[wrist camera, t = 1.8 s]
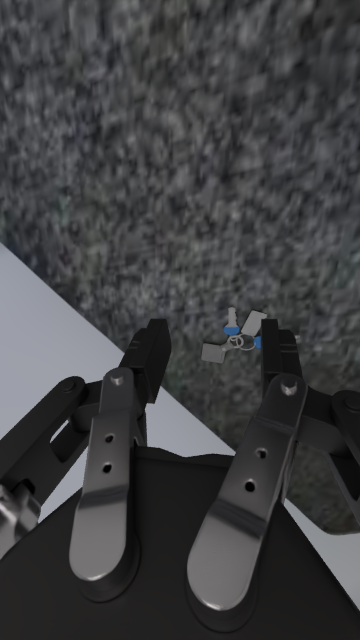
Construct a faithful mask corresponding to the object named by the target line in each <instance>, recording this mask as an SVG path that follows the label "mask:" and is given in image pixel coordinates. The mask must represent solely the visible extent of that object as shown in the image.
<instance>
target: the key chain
mask: <svg viewBox="0 0 360 640" xmlns="http://www.w3.org/2000/svg"><path fill="white" fill-rule="evenodd" d="M235 311H236V310H235V308H232V307H231V308H229V324H227V325H226V326H224V332H225V333H226V334H227V335H230V337H229V338H228V340H227V343H225V344H223V345H220V346H218V345H212V344H206V343H205V344H203V350H202V357H201V359H202V360H205V361H210V362H216V363H223V361H224V356H225V352H226V351H228V350H230V349H233V348H240V349H242V348H241V346H242V345H243V344H244V340H243V339H242V337H240V336H241V335H243V334H246V335H250V336H252V337H253V336H255V335H256V333H257V332H258V330H259V328H260V327H261V319H265V318H266V316H267V314H264V313H260V312H257V311H254V310H252V312H251V313H250V315H249V317H248V319H247V321H246V323H245V324H244V326H243V328H242V330H241V332H242V333H243V334H240V335H239V336H237V335H236V334H237V333H238V332H239V325H238V326H237V325H236V324H237V322H236V321H235V320H236V318H237V317H235V316H236V314H235ZM247 333H248V334H247ZM231 335H233V336H231ZM231 338H236V339H235V340H236V344H237V339H238V338H239V339H240V340H241V344H240V345H238V344H237V346H234V345H233V344H232V343H231V342H230V340H232V339H231ZM253 338H254V337H253ZM296 338H300V336H299V335H298V336H295V339H296ZM235 340H232V341H235ZM253 342H255V343H254V346H253V348H254V347H256V348H259V349H261V336H258V337H256V338H254V341H253ZM253 348H251V349H253ZM251 349H242V350H251Z"/></svg>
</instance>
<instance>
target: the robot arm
mask: <svg viewBox="0 0 360 640" xmlns="http://www.w3.org/2000/svg"><path fill="white" fill-rule="evenodd" d="M170 354H171V339H170V334H169V329H168V324H167V320H166V319H151V320H150V322H149V324H148V326H147V328H141V329H140V330H139V331H138V332H137V333H136V334H135V335H134V337H133V339H132V341H131V343H130V345H129V347H128V349H127V350H126V352H125V354H124V356H123V358H122V360H121V362H120V364H119V366H118V368H115V369H112V370H110V371H109V372H108V373H106V375H105V376H104V378H103V380H100V381H96V382H92V383H87V384H86V383H85V382H84V379H82V378H81V377H78V376H72V377H68V378H66V379H64V380H62V381H61V382H59V383H58V384H57V385H56V386H55V387H54V388H53V389H52V390H51V391H50V392H49V393H48V394H47V395H46V396H45V397H44V398H43V399H42V400H41V401H40V402H39V403H38V404H37V405H36V406H35V407H34V408H33V409H32V410H31V411H30V412H29V413H28V414H26V415H25V416H24V417H23V418H22V419H21V420H20V421H19V422H18V423H17V424H16V425H15V426H14V427H13V428H12V429H11V430H10V431H9V432H8V433H7V434H6V435H5V436H4V437H3V438H2V439H1V440H0V640H360V611H359V609H358V608H357V606H356V605H355V604H354V602H353V601H352V600H351V598H350V597H349V595H348V594H347V593H346V591H345V590H344V588H343V587H342V586H341V584H340V583H339V581H338V580H337V579H336V577H335V576H334V575H333V573H332V572H331V570H330V569H329V568H328V566H327V565H326V563H325V562H324V561H323V559H322V558H321V557H320V555H319V554H318V552H317V551H316V550H315V548H314V547H313V545H312V544H311V543H310V541H309V540H308V538H307V537H306V536H305V534H304V533H303V532H302V530H301V529H300V527H299V526H298V525H297V523H296V522H295V520H294V519H293V518H292V516H291V515H290V514H289V512H288V511H287V509H286V508H285V507H284V501H285V497H286V493H287V489H288V484H289V479H290V475H291V471H292V467H293V463H294V460H295V456H296V452H297V448H298V445H299V442H302V443H304V444H307V445H310V446H312V447H315V448H317V449H320V450H322V452H323V454H324V456H325V458H326V460H327V462H328V464H329V466H330V468H331V470H332V472H333V474H334V476H335V478H336V480H337V482H338V484H339V486H340V488H341V490H342V492H343V494H344V496H345V498H346V500H347V502H348V504H349V506H350V508H351V510H352V512H353V514H354V516H355V518H356V520H357V522H358V524H359V526H360V393H359V392H356V391H351V390H343V391H339V392H337V393H335V394H334V395H333V396H331V395H327V394H324V393H321V392H318V391H316V390H314V389H312V388H311V387H309V386H308V385H307V384H306V382H305V381H304V379H303V376H302V371H301V366H300V360H299V355H298V349H297V344H296V339H295V336H294V335H293V334H292V332H291V331H290V330H278V321H277V319H261V380H262V403H261V406H260V408H259V410H258V413H257V415H256V417H254V416H253V417H252V418H251V419H250V421H249V424H248V426H247V428H246V431H245V433H244V435H243V438H242V440H241V442H240V445H239V447H238V449H237V451H236V454H235V456H230V455H221V454H206V455H199V456H192V457H182V456H179V455H177V454H174V453H172V452H169V451H166V450H164V449H161V448H155V447H147V432H146V431H147V429H146V413H145V407H146V404H147V403H153V404H154V403H155V400H156V398H157V395H158V392H159V388H160V385H161V382H162V379H163V376H164V373H165V370H166V367H167V364H168V361H169V357H170ZM66 420H68V421H69V423H68V424H67V425H66V426H65V427H64V428H63V429H62V431H61V432H60V433H59V434H58V435H57V436H56V438H55V439H54V440H53V441H52V442H51V443H50V440H51V438H52V436H53V435H54V434H55V432H56V431H57V430H58V429H59V428H60V427H61V425H63V423H64V422H65V421H66ZM88 445H89V446H88ZM87 446H88V453H87V460H86V468H85V475H84V482H83V487H81V488H80V489H79V490H78V491H77V492H76V493H74V494H73V495H72V496H71V497H70V498H68V499H67V500H66V501H65V502H64V503H63V504H61V505H60V506H59V507H58V508H57V509H56V510H54V511H53V512H52V513H51V514H50V515H48V516H47V517H46V518H45V519H44V520H42V521H41V522H40V523H39V524H38V519H39V516H40V512H41V506H42V505H43V504H44V502H45V501H46V499H47V498H48V497H49V496H50V494H51V493H52V492H53V490H54V489H55V488H56V486H57V485H58V484H59V483H60V481H61V480H62V479H63V478H64V476H65V475H66V474H67V472H68V471H69V470H70V468H71V467H72V466H73V464H74V463H75V462H76V460H77V459H78V458H79V457H80V455H81V454H82V453H83V451H84V450H85V449H86V447H87Z"/></svg>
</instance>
